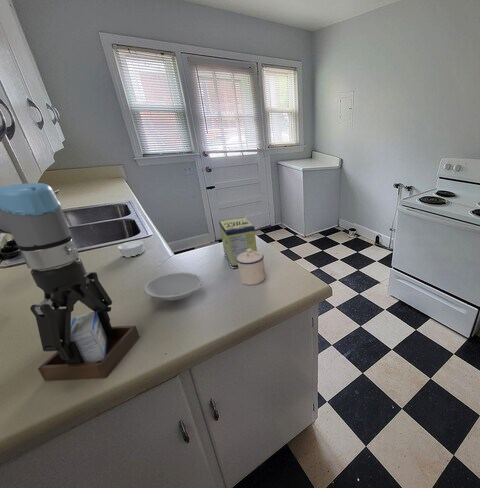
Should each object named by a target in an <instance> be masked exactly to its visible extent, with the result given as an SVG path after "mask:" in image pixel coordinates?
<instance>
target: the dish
mask: <svg viewBox="0 0 480 488" xmlns="http://www.w3.org/2000/svg"><path fill="white" fill-rule="evenodd" d="M202 284H203V278H202V277H201V275H198V274H196V273H192V272H172V273H166V274H162V275H159V276H157V277H155V278H154V277H153V278H152V279H150V280H149V281H148V282H147V283H145V284H144V286H143V293H144V294H146V295H147V296H149V297H152V298H155V299H158V300H161V301H169V302H172V301H179V300H183V299H186V298H188V297H190V296H191V295H192V294H194V293H195V292H196V291H197V290H198V289H199V288H200V287H201V286H202Z"/></svg>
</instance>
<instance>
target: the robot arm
mask: <svg viewBox="0 0 480 488" xmlns="http://www.w3.org/2000/svg"><path fill="white" fill-rule="evenodd" d="M69 227H70V226H69V225H68V222H67V219H66V216H65V214H64V211H63V208H62V204H61V202H60V201H59V200H58V198H57V196H56V194H55V192H54V189H53V188H52V187H51V185H49V184H46V183H42V182H34V183H33V182H32V183H31V182H29V183H27V182H26V183H16V184H8V185H2V186H0V234H10V235H11V236H12V237H13V240H14V242H15V244H16V245H17V248H18V250H19V252H20V254H21V257H22V258H23V261H24V262H25V264H26V266H27V268H28V269H30V274H31V277H32V279H33V281H34V282H35V285H36V286H37V287H38V288H39V289H40V290H42V291H43V299H42V301H40V302H39V303H38V304H37V303H36V304H32V305H31V306H30V312H31V313H32V314H33V315H34V317H35V321H36V325H37V329H38V333H39V338H40V342H41V347H42V351H43V352H57V351H58V353H59V355H60V356H61V359H63V360H66V362H67V364H82V363H84V360H83V358H82V356H81V354H80V352H79V350H78V347H77V345H76V343H75V342H70V334H71V324H72V312H74V309H75V305H76V304H77V303H78V302H80V303H82V304H83V305H84V306H85V307H87V308H88V309H89V310H91V311H92V312H97V315H98V317H99V319H100V322H101V324H102V327H103V329H104V331H105V334H106V336H107V337H113V336H114V332H113V329H112V327H113V326H112V324H111V318H110V316H109V313H110V312H111V311H112V307H111V305H112V304H113V301H112V299H111V297H110V295H109V294H108V293H107V291H106V290H105V288H104V287H103V285H102V283H101V282H100V280H99V277H98V272H96V271H89V272H88V271H86V268H85V266H84V263H83V261H82V259H81V258H79V257H80V255H79V251H78V249H77V246H76V244H75V242H74V239H73V236H72V233H71V231H70V228H69Z"/></svg>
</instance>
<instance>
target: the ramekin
mask: <svg viewBox="0 0 480 488" xmlns="http://www.w3.org/2000/svg"><path fill="white" fill-rule="evenodd" d="M117 249H118V251H119V253H120V254H121V256H122V257H123V256H133V255H136V254H139V253H141V252H142V251H143V250H144V251H145V249H144V242H143V241H142V240H131V241H127V242H124V243H121V244H119V245H118V246H117Z"/></svg>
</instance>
